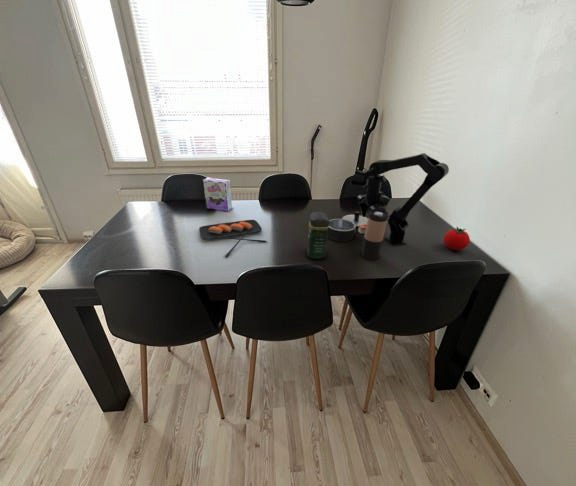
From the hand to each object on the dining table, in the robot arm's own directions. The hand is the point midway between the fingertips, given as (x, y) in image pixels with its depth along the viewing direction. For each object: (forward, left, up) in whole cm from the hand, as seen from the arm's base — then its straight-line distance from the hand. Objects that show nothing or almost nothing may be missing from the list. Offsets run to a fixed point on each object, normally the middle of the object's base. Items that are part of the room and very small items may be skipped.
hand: (367, 220), depth 143 cm
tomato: (-23, -33, -6) cm, 41 cm away
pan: (-1, +14, -6) cm, 15 cm away
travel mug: (-22, +8, -6) cm, 24 cm away
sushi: (0, 0, -6) cm, 6 cm away
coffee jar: (-17, +31, -6) cm, 36 cm away
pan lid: (+12, 0, -6) cm, 13 cm away
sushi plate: (+3, +65, -6) cm, 65 cm away
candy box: (+42, +71, -6) cm, 83 cm away
